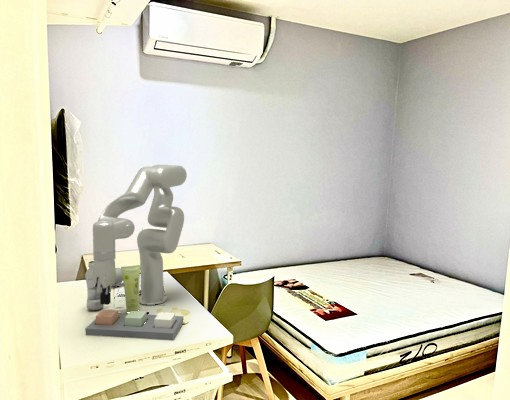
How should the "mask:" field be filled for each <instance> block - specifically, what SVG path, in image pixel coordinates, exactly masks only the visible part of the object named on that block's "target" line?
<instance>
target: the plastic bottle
mask: <svg viewBox="0 0 510 400" xmlns="http://www.w3.org/2000/svg"><path fill="white" fill-rule="evenodd" d="M87 263H88V264H87V265H88V266H87V267H88V268H87V269H86V272H85V274H84V278H85V283H86V287H87V294H86V295H87V297H86V298H87V299H86V308H87V309H88V310H89V311H99V310H102V308H103V307H104V305H103V304H100V293H97V287H96V288H93V287H92V271H93V263H94V260H90V261H88V262H87Z"/></svg>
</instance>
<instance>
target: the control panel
mask: <svg viewBox="0 0 510 400" xmlns="http://www.w3.org/2000/svg"><path fill="white" fill-rule="evenodd" d="M127 315H128V313H127V312H126V313H125V312H123V313H122V312H118V316H119V319H118V320H117V321H116V322H115V323H114V324H113V325H96V318H95V319H94V320H93V321H92V322H90V323H89V324H88V325H87V326H86V327H85V329H84V332H85V333H84V334H85V336H97V337H111V338H112V337H113V338H131V339H133V338H134V339H148V340H149V339H150V340H164V341H165V340H166V341H167V340H169V341H173V340H175V338H176V336H177V334H178V332H179V331H180V329H181V328H182V326H183V324H184V323H183V320H184V316H182V315H175V323H174V325H173V327H172V328H171V329H170V328H155V322H154V319H155V318H156V316H157V315H158V314H147V321H146V323H145V324H144V325H143V326H142V327H133V326H125V317H126V316H127Z"/></svg>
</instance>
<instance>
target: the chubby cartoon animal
mask: <svg viewBox="0 0 510 400" xmlns="http://www.w3.org/2000/svg"><path fill="white" fill-rule="evenodd" d="M115 270H116V279H115V281H114V282H113V284H112V285H111V287H112V286H115V287H117V286H120V287H121V284H122V282H123V275H122V270H121V267H115ZM117 288H118V287H117Z"/></svg>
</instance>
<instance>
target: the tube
mask: <svg viewBox="0 0 510 400" xmlns="http://www.w3.org/2000/svg"><path fill="white" fill-rule="evenodd" d="M120 268H121V270H122V275H123V281H122V282H123V288H124V289H123V290H124V298H125V311H126V313H127V312H130V311H138V310H139V311H140V303H139V296H140V280H141V273H140V268H141V265H140V264H138V265H129V266H128V265H127V266H120Z"/></svg>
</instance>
